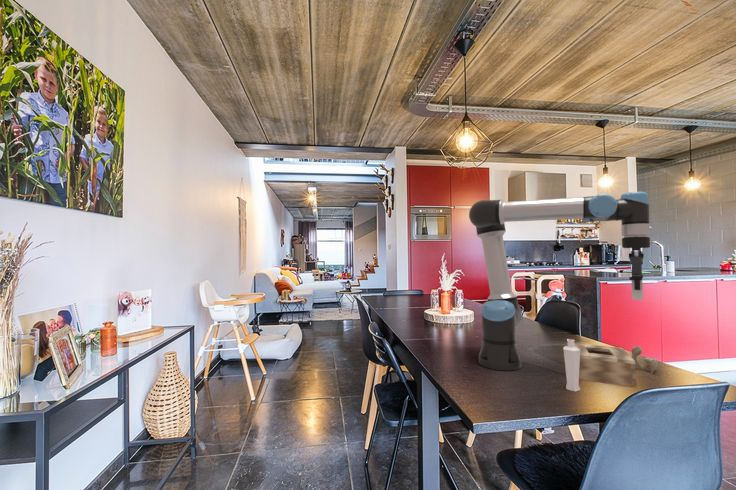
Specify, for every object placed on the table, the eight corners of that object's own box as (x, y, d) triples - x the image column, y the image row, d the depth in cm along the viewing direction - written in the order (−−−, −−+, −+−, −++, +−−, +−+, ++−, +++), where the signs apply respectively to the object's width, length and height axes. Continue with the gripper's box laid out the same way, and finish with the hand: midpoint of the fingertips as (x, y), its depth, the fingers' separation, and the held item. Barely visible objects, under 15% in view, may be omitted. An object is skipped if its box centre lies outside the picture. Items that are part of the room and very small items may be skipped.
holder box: (575, 378, 107) (574, 354, 107) (570, 364, 121) (569, 342, 121) (636, 386, 99) (635, 360, 100) (623, 370, 114) (622, 347, 114)
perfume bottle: (560, 386, 101) (558, 338, 101) (573, 385, 101) (571, 337, 102) (570, 392, 96) (568, 342, 97) (584, 391, 97) (582, 341, 97)
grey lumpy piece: (672, 369, 110) (657, 344, 110) (660, 380, 109) (645, 355, 109) (646, 363, 118) (632, 340, 118) (635, 373, 117) (621, 350, 117)
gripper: (651, 234, 99) (653, 303, 99) (648, 237, 119) (649, 295, 118) (621, 235, 104) (622, 300, 104) (622, 238, 123) (623, 293, 123)
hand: (637, 297), depth 111 cm, fingers open, 13 cm apart
